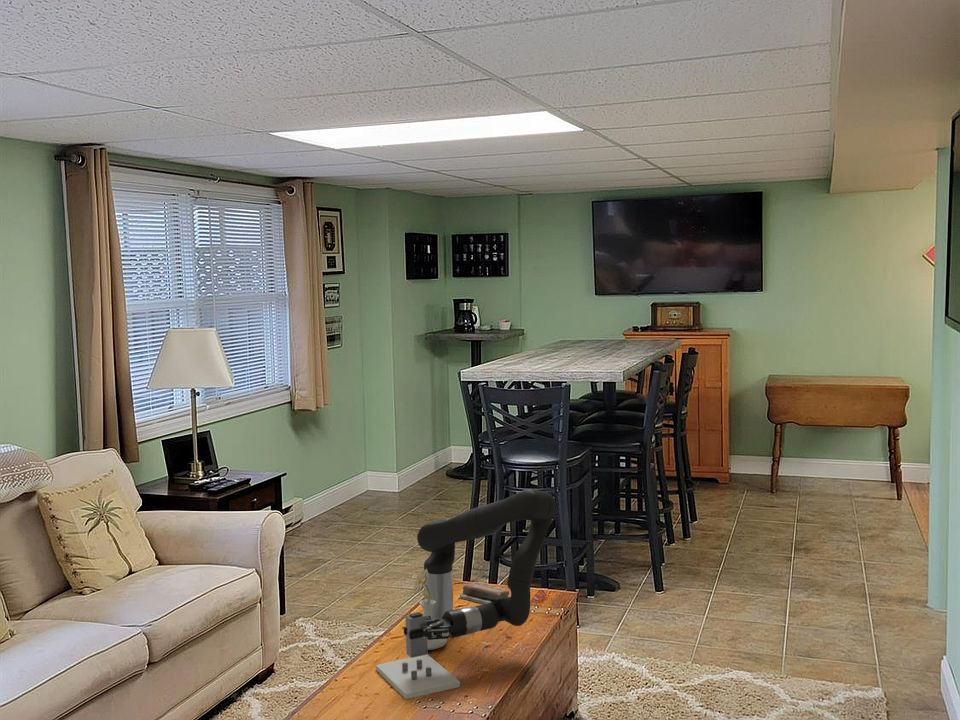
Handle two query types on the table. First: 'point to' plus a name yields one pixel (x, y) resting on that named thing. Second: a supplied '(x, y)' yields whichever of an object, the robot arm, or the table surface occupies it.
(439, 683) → the tray
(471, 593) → the packaged product
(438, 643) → the flower in vase
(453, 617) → the robot arm
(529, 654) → the table surface
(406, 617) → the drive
